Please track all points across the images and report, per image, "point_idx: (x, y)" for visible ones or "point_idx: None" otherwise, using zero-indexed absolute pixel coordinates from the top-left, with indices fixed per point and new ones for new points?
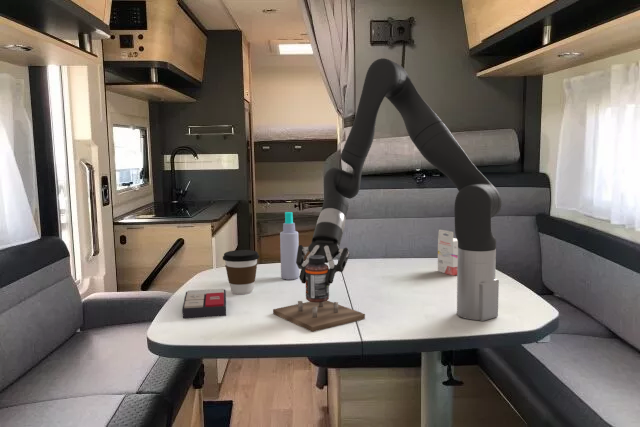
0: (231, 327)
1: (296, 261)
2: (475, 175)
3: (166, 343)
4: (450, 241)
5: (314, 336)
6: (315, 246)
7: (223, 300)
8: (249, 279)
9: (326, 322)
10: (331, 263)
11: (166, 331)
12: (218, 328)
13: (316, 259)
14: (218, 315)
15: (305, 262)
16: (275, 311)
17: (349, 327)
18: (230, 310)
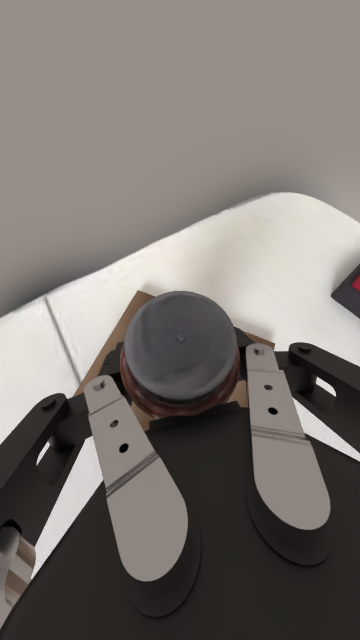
0: (268, 258)
1: (317, 348)
2: None
3: (281, 193)
4: None
5: (126, 280)
6: (318, 484)
7: None
8: None
9: (124, 321)
10: (100, 397)
11: (324, 215)
12: (280, 248)
13: (157, 298)
14: (338, 287)
15: (263, 358)
16: (263, 340)
17: (84, 345)
18: (356, 324)
